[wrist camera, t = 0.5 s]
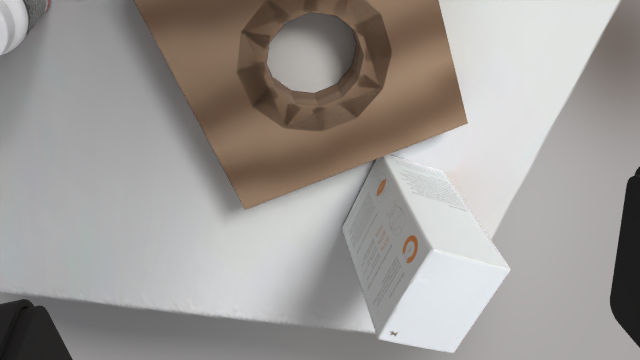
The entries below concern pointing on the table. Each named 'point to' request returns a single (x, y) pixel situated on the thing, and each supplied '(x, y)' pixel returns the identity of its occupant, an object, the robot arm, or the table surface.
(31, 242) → the table surface
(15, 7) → the pill bottle
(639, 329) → the robot arm
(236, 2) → the socket block
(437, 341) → the small box
